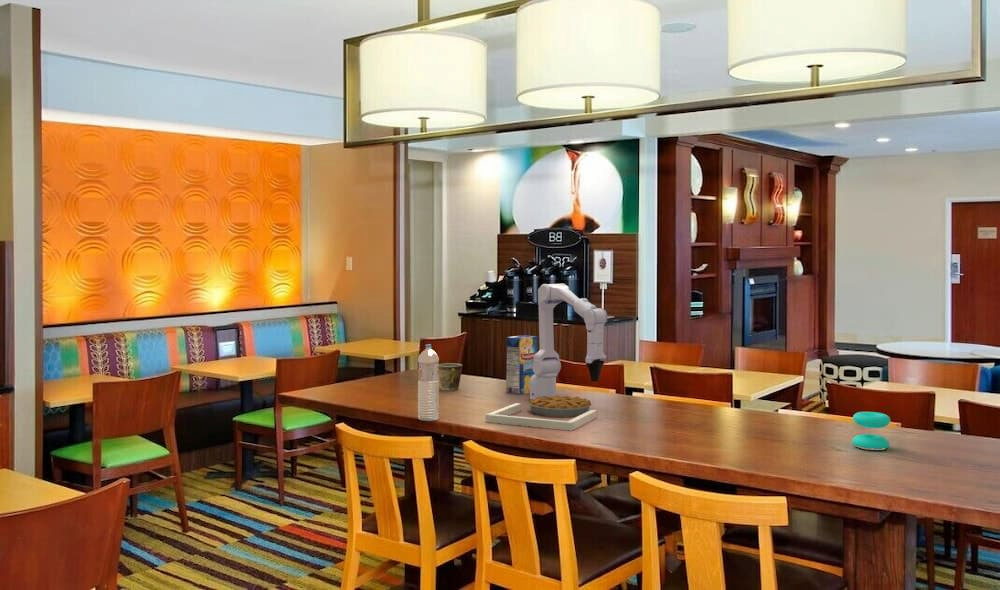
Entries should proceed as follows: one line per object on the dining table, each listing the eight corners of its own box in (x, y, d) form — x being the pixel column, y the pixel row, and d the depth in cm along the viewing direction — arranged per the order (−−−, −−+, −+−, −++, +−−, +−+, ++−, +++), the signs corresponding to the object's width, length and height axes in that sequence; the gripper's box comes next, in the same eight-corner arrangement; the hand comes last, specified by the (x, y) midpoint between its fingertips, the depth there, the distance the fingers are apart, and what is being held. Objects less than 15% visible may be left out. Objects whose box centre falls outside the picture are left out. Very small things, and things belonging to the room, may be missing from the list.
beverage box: (506, 392, 354) (506, 337, 352) (523, 389, 362) (524, 335, 361) (519, 394, 349) (519, 338, 348) (537, 391, 357) (537, 336, 356)
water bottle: (435, 421, 294) (435, 346, 292) (415, 420, 295) (415, 345, 294) (440, 418, 301) (441, 343, 299) (421, 417, 302) (421, 343, 301)
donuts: (874, 410, 266) (898, 416, 256) (873, 443, 267) (897, 450, 257) (845, 411, 263) (868, 418, 254) (844, 445, 264) (867, 452, 254)
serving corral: (485, 422, 294) (485, 414, 294) (515, 410, 316) (515, 403, 316) (571, 430, 281) (571, 422, 281) (596, 417, 303) (596, 410, 303)
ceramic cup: (434, 388, 363) (434, 363, 363) (458, 387, 366) (458, 362, 366) (442, 393, 351) (442, 367, 351) (467, 392, 354) (467, 367, 354)
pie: (604, 413, 313) (604, 399, 313) (561, 421, 298) (561, 406, 298) (558, 404, 329) (558, 391, 329) (515, 411, 314) (515, 397, 314)
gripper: (599, 345, 307) (598, 384, 308) (612, 341, 320) (612, 379, 321) (580, 344, 310) (579, 383, 311) (593, 340, 323) (593, 377, 324)
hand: (594, 381), depth 316 cm, fingers closed
